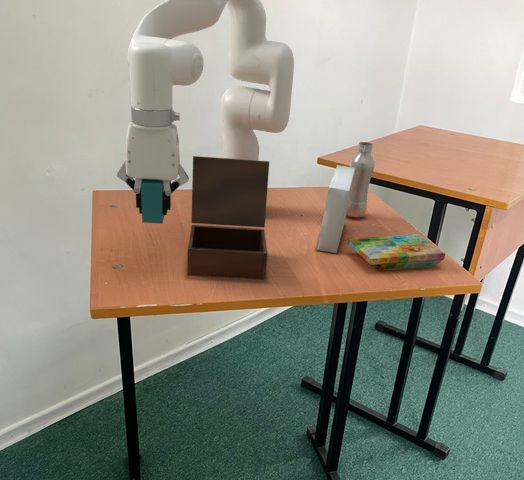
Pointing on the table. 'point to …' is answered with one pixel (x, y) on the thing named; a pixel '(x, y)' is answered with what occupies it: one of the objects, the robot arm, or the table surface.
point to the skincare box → (336, 209)
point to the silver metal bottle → (360, 179)
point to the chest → (227, 252)
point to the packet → (152, 201)
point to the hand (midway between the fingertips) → (153, 211)
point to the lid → (229, 191)
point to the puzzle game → (397, 251)
